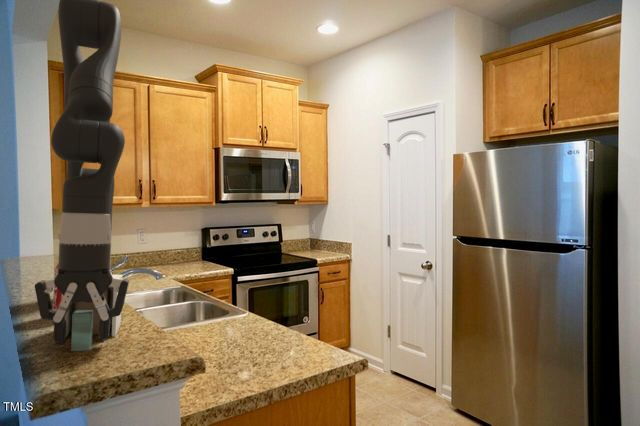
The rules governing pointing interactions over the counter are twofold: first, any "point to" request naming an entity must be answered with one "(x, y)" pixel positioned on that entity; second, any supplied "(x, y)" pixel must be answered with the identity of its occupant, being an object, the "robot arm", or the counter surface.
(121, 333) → the counter surface
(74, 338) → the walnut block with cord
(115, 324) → the cream white box
